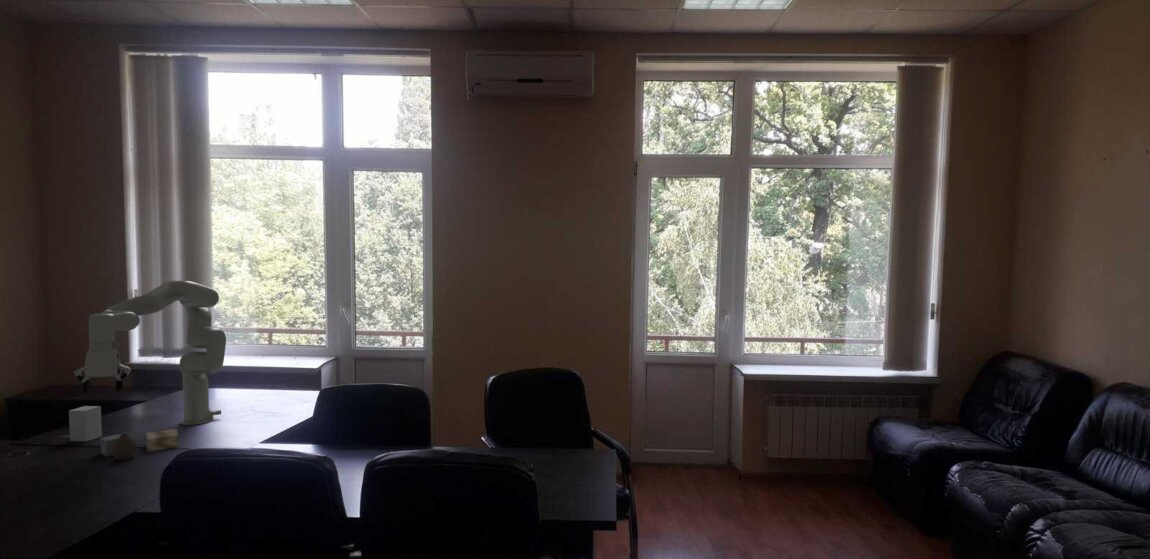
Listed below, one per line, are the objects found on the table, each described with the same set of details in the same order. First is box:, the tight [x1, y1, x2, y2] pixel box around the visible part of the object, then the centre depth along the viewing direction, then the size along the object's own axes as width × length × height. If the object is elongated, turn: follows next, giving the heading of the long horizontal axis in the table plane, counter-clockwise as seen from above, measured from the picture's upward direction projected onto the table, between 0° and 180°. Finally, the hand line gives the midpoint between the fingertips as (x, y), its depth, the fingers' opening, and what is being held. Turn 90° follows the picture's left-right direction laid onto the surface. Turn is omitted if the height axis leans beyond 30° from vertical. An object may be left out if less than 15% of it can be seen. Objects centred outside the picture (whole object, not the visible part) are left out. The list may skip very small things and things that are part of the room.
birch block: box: [145, 428, 180, 453], centre depth 227 cm, size 10×10×5 cm
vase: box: [112, 433, 137, 461], centre depth 213 cm, size 7×7×9 cm
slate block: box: [100, 433, 122, 457], centre depth 219 cm, size 6×6×6 cm
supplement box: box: [68, 405, 103, 442], centre depth 235 cm, size 7×7×13 cm
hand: (103, 391), depth 217 cm, fingers open, 9 cm apart
